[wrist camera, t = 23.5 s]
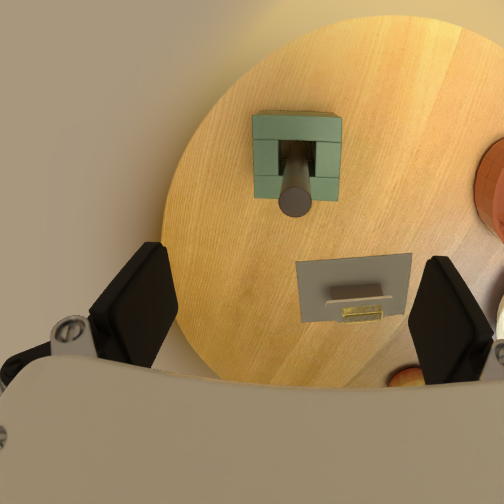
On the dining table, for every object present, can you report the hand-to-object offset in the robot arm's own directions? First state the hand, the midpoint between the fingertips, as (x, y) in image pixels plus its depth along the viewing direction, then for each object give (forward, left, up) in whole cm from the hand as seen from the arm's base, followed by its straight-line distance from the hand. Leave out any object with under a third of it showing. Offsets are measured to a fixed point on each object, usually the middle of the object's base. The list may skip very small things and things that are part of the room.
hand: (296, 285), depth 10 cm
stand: (+1, 0, -31) cm, 31 cm away
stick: (+1, 0, -31) cm, 31 cm away
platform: (+22, +10, -31) cm, 39 cm away
